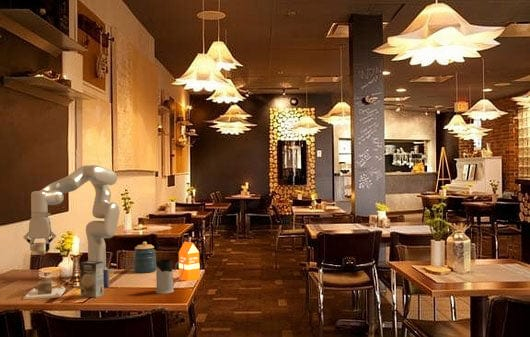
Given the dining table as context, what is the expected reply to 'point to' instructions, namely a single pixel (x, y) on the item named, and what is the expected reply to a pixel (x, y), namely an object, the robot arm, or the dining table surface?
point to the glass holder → (165, 276)
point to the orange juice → (189, 262)
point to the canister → (144, 258)
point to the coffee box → (92, 279)
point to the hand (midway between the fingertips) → (40, 251)
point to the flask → (106, 277)
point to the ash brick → (38, 248)
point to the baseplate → (34, 294)
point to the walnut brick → (44, 287)
